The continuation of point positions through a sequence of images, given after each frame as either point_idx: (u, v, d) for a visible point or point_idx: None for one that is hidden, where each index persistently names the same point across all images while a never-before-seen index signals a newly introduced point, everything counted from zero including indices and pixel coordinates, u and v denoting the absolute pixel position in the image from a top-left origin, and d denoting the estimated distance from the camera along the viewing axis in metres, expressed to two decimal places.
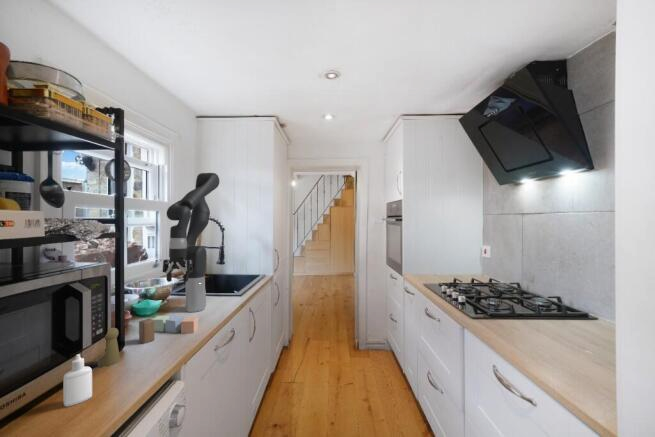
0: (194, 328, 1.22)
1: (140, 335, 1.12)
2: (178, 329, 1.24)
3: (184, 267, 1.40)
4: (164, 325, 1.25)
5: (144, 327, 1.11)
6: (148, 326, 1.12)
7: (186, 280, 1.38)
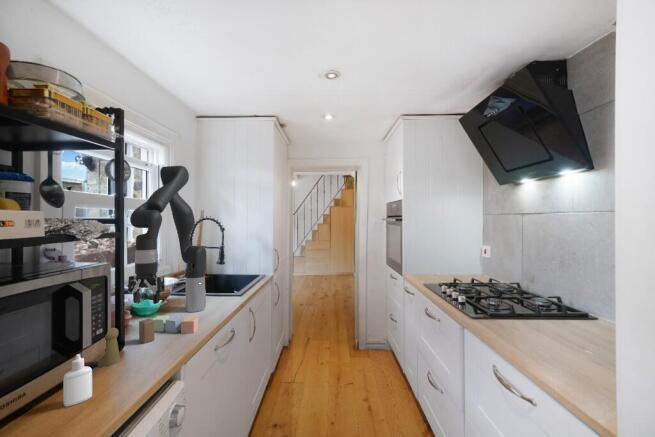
0: (194, 328, 1.22)
1: (140, 335, 1.12)
2: (178, 329, 1.24)
3: (154, 285, 1.14)
4: (164, 325, 1.25)
5: (144, 327, 1.11)
6: (148, 326, 1.12)
7: (157, 301, 1.12)
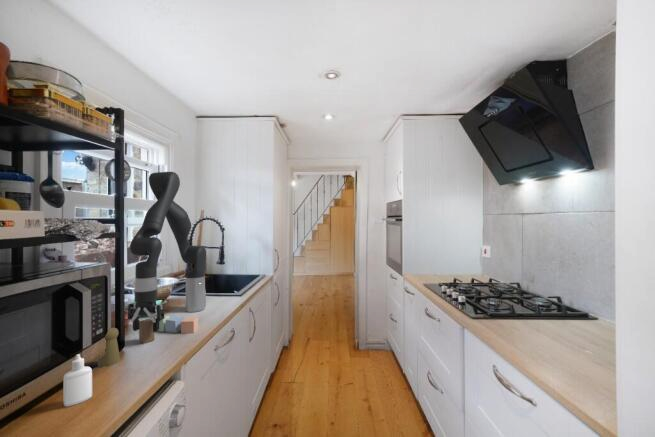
0: (194, 328, 1.22)
1: (140, 335, 1.12)
2: (178, 329, 1.24)
3: (154, 312, 1.14)
4: (164, 325, 1.25)
5: (144, 327, 1.11)
6: (148, 326, 1.12)
7: (156, 329, 1.12)
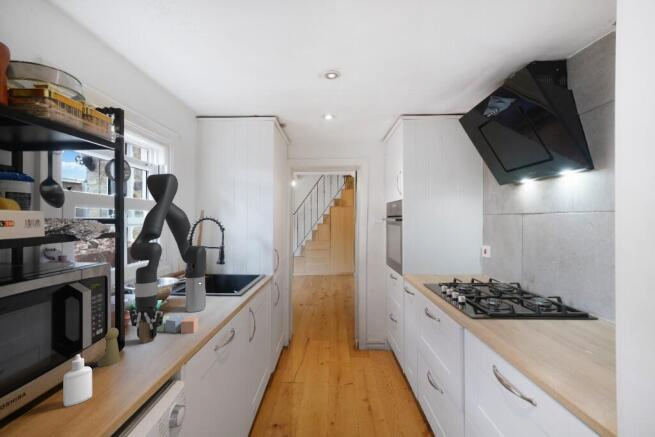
0: (194, 328, 1.22)
1: (140, 335, 1.12)
2: (178, 329, 1.24)
3: (153, 318, 1.15)
4: (164, 325, 1.25)
5: (144, 327, 1.11)
6: (148, 326, 1.12)
7: (154, 336, 1.12)
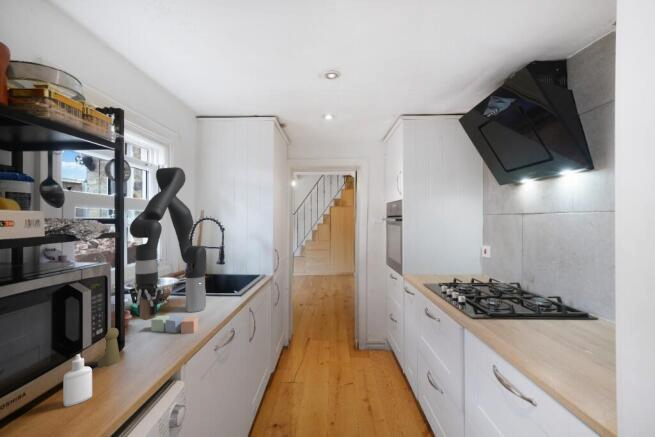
0: (194, 328, 1.22)
1: (141, 312, 1.13)
2: (178, 329, 1.24)
3: (154, 295, 1.15)
4: (164, 325, 1.25)
5: (144, 304, 1.11)
6: (148, 303, 1.12)
7: (154, 313, 1.13)
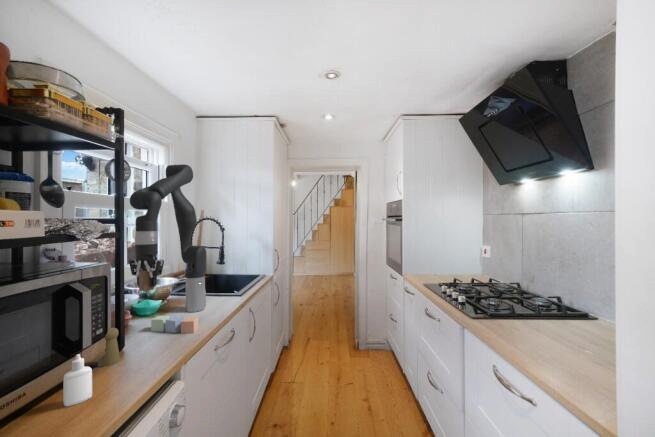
0: (194, 328, 1.22)
1: (140, 283, 1.12)
2: (178, 329, 1.24)
3: (153, 267, 1.15)
4: (164, 325, 1.25)
5: (144, 275, 1.11)
6: (148, 275, 1.12)
7: (154, 285, 1.13)
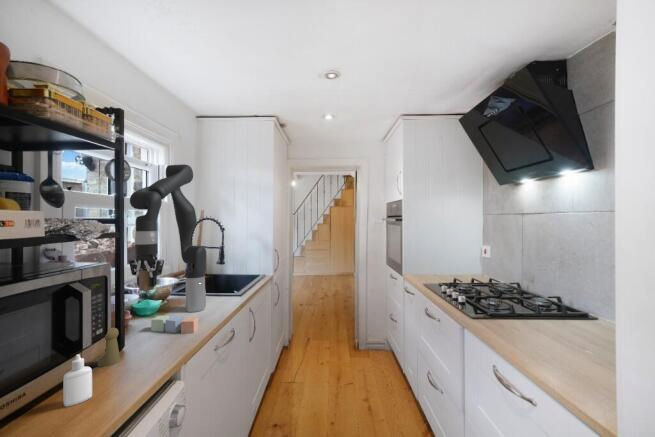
0: (194, 328, 1.22)
1: (140, 283, 1.12)
2: (178, 329, 1.24)
3: (153, 267, 1.15)
4: (164, 325, 1.25)
5: (144, 275, 1.11)
6: (148, 275, 1.12)
7: (154, 284, 1.13)
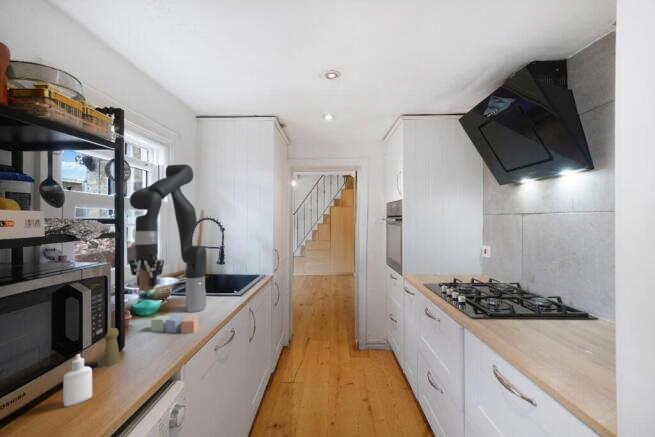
0: (194, 328, 1.22)
1: (140, 283, 1.12)
2: (178, 329, 1.24)
3: (153, 267, 1.15)
4: (164, 325, 1.25)
5: (144, 275, 1.11)
6: (148, 275, 1.12)
7: (154, 284, 1.13)
